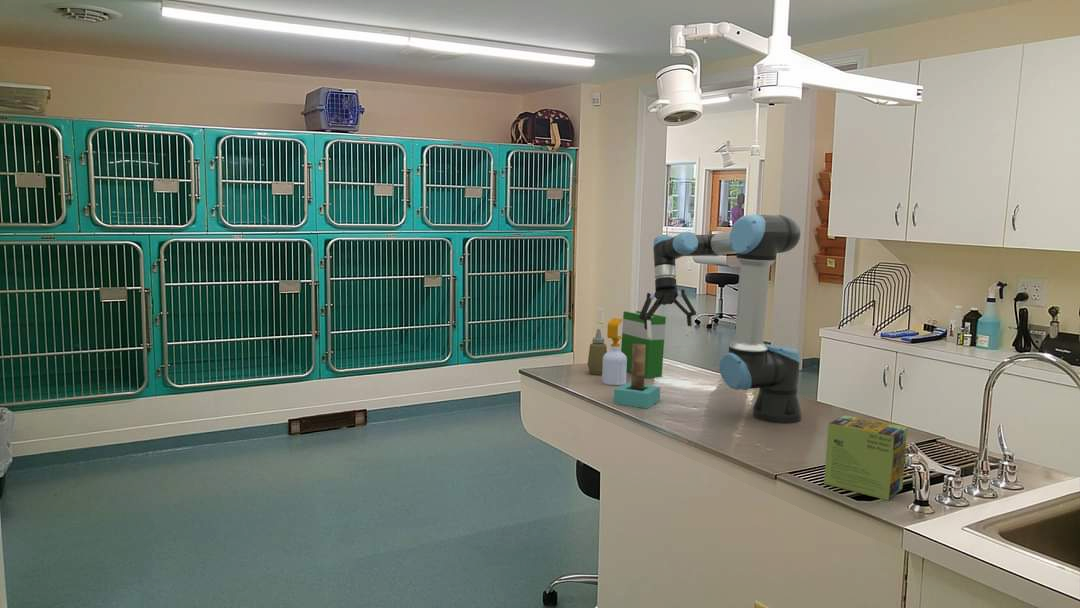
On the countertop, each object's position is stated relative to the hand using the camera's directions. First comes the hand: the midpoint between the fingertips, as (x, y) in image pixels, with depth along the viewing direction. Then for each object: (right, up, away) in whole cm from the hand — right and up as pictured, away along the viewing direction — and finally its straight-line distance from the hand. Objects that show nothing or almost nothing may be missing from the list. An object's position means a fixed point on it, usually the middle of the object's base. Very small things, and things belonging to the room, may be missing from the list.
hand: (668, 337), depth 263 cm
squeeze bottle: (-22, -16, +35) cm, 45 cm away
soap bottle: (-17, -19, +20) cm, 32 cm away
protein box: (+33, -33, -82) cm, 95 cm away
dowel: (-12, -22, -8) cm, 26 cm away
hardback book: (-5, -16, +38) cm, 42 cm away
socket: (-12, -22, -8) cm, 26 cm away
